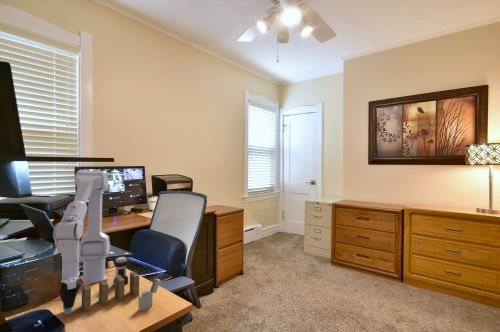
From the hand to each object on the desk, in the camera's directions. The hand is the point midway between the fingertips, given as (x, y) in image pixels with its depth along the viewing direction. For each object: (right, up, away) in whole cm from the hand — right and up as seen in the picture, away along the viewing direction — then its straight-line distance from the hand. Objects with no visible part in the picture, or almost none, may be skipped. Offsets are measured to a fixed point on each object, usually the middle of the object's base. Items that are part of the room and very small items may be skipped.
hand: (67, 304), depth 82 cm
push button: (+6, -3, +20) cm, 21 cm away
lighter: (+23, -4, +5) cm, 24 cm away
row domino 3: (+11, -3, +10) cm, 15 cm away
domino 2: (+15, -3, +13) cm, 20 cm away
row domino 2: (+7, -3, +7) cm, 10 cm away
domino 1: (0, -2, 0) cm, 2 cm away
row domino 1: (+4, -3, +3) cm, 6 cm away
